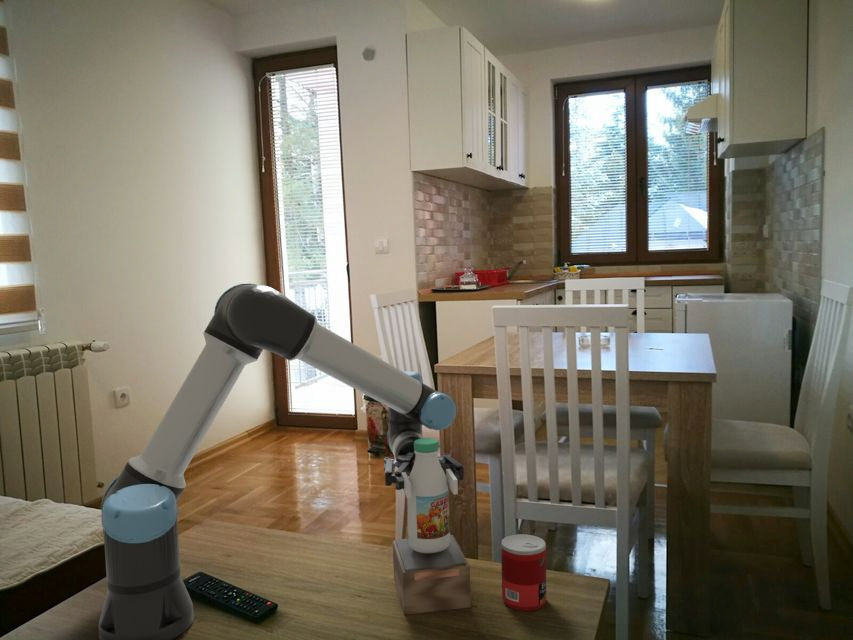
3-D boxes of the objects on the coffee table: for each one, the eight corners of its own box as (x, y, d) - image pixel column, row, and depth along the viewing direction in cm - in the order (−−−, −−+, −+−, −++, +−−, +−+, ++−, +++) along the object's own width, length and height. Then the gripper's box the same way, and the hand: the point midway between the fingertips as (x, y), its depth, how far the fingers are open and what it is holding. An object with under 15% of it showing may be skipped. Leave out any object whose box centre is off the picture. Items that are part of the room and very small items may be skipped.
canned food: (549, 611, 118) (549, 551, 117) (504, 612, 118) (503, 551, 117) (543, 590, 125) (542, 533, 124) (500, 590, 125) (499, 534, 124)
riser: (404, 615, 117) (403, 571, 117) (393, 578, 131) (392, 538, 131) (470, 607, 120) (470, 564, 119) (453, 571, 134) (452, 532, 133)
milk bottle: (402, 551, 123) (398, 444, 121) (417, 535, 130) (414, 433, 128) (442, 557, 120) (439, 447, 118) (455, 539, 127) (452, 436, 125)
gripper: (460, 467, 143) (488, 504, 121) (364, 474, 140) (375, 514, 118) (459, 432, 143) (488, 464, 120) (363, 439, 139) (373, 473, 117)
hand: (432, 489), depth 119 cm, fingers open, 8 cm apart
